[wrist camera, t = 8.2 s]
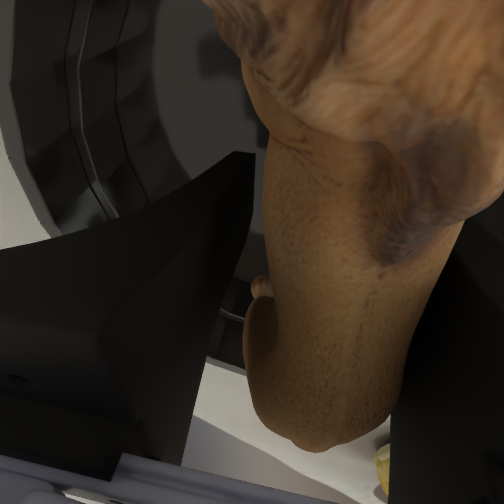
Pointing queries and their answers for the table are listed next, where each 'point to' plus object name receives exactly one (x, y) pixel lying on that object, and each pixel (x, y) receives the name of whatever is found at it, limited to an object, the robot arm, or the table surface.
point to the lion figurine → (360, 190)
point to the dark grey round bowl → (133, 121)
